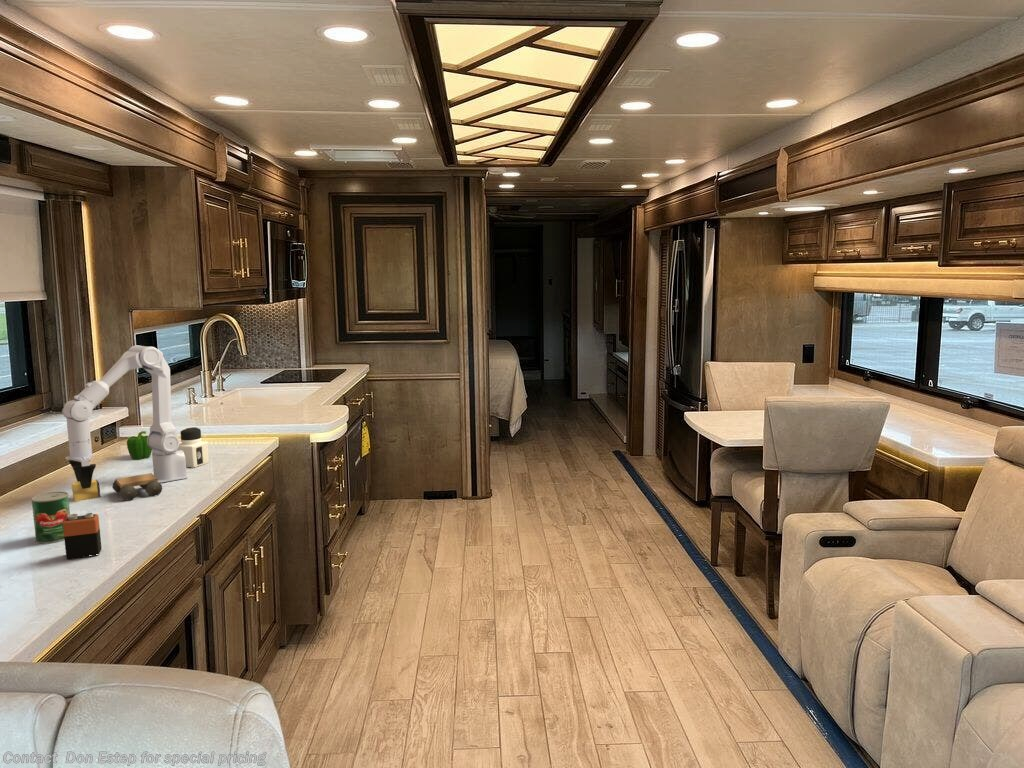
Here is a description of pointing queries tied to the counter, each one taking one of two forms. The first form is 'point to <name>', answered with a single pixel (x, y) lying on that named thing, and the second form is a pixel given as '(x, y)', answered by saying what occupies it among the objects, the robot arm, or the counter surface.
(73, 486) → the block
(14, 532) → the counter surface
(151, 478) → the trolley
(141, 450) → the bell pepper
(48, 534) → the canned tomato
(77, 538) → the battery
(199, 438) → the container
